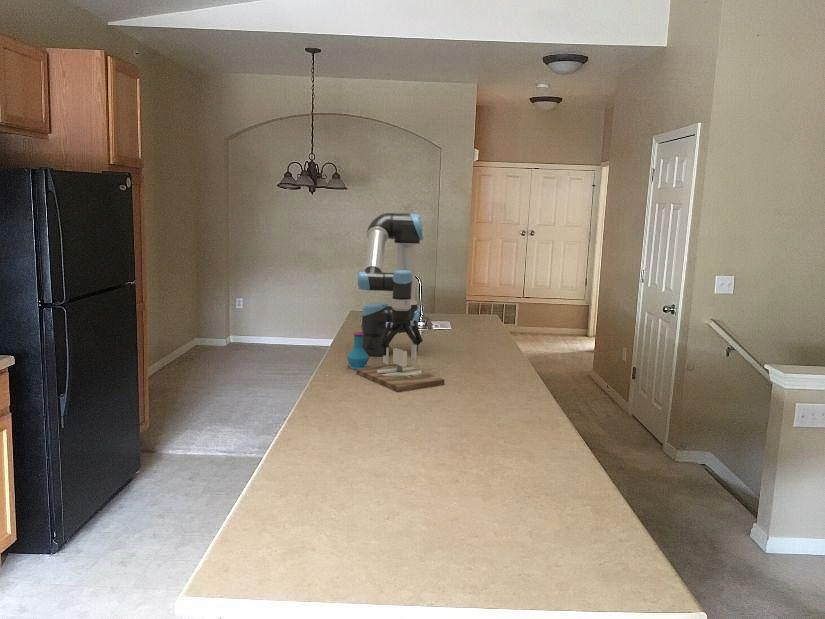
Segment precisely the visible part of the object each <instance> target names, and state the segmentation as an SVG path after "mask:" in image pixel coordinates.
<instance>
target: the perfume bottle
mask: <svg viewBox="0 0 825 619" xmlns="http://www.w3.org/2000/svg"><path fill="white" fill-rule="evenodd" d="M352 335H353V337H354V338H353V348H352V349H351V350H350V352H349V353H348V354H347V356H346V358H347V359H346V360H347V362H348V365H350V366H349V369H352V370H356V369H361V368H367V367H366V365H368V362H369V358H370V356H368V354H367V353H366V352H365V350H364V349H363V347H362V345H363V335H364V334H363V333H362V331H355V332H353V334H352Z"/></svg>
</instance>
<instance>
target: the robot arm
mask: <svg viewBox="0 0 825 619" xmlns="http://www.w3.org/2000/svg"><path fill="white" fill-rule="evenodd" d="M422 224H423V222H422V216H421V215H420V214H417V213H411V212H410V213H403V212H399V213H398V212H385V213H382V214H380V215H378V216H377V217H375V218H374V219H373V220H372V221H371V222H370V224H369V226H368V227H367V231H366V238H367V247H366V254H365V261H364V262H365V263H364V268H363V271H360V272H358V276H357V287H358V289H359V290H362V291H375V292H376V291H377V292H378V291H380V292H381V291H382V292H383V291H385V292H392V296H391V297H392V298H391V305H389V303H388V302H384V301H383V302H382V301H381V302H380V301H379V302H373V303H367V304H365V305H364V306H363V307H362V311H361V312H362V314H361V318H362V320H361V332H362V333H363V334H364V335H363V345H362V347H363V349H364V350H365V352H366V353H367V354H368V356H369V357H381V356H382V363H383V364H385V365H389V355H390V354H391V347H390V343H391V341H392V340H393V338H395V336H396V335H397V334H402V333H405V334H406V335H407V337H409V339H410V340H411V341H412V343H411V346H410V347H411V348H410V349H411V350H410V353H411V354H410V360H412V361H414V362H415V361H417V353H418V351H419V345H420V344H421V343H423V341H424V340H423V338H422V335H421V333H420V330H419V328H418V327H419V326H418V325H419V320H420V314H421V306H418V302H417V300H416V299H415V297H416V296H415V293H416V291H415V290H416V267H417V265H416V264H417V259H416V258H417V247H418V246H419V245H420V244H421V243H420V242H421V241H423V240H424V235H423V225H422ZM388 239H390V240H394V242H393V244H394V245H395V246H396V247H397V252H396V270H394V271H393V272H383V269H384V257H385V248H386V242H387V241H388Z"/></svg>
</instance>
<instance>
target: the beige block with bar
mask: <svg viewBox="0 0 825 619" xmlns="http://www.w3.org/2000/svg"><path fill="white" fill-rule="evenodd" d="M407 363H408V351H406V350H403V349H401V348H398V347H396V348H392V364H396V365H397V370H390V371H382V372H379V373H380V374H381V373H388V372H395V371H397V372H402V371H403V367H405V366H408V364H407Z"/></svg>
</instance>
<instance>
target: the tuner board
mask: <svg viewBox="0 0 825 619" xmlns="http://www.w3.org/2000/svg"><path fill="white" fill-rule="evenodd" d="M390 370H397V365H396V364H394V363H392V364H385V365H379V366H369V367H366V368H361V369H355V371H356V372H355V373H356V375H358V376H360V377H362V378H364V379H367V380H369V381H372V382H374V383H376V384H379V385H381V386H383V387H385V388H387V389H390V390H392V391H394V392H396V393H401V392H407V391H413V390H418V389H425V388H426V389H427V388H430V387H431V388H432V387H437V386H444V385H445V381H446V380H445V379H444V378H441V377H439V376H436V375H434V374H430V373H428V372H426V371H423V370H421V369H419V368H416V367H412V366H410V365H407V366H405V367H403V371H402V372H397V371H395V372H388V373H381V374H380V373H379V372H382V371H390Z"/></svg>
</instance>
